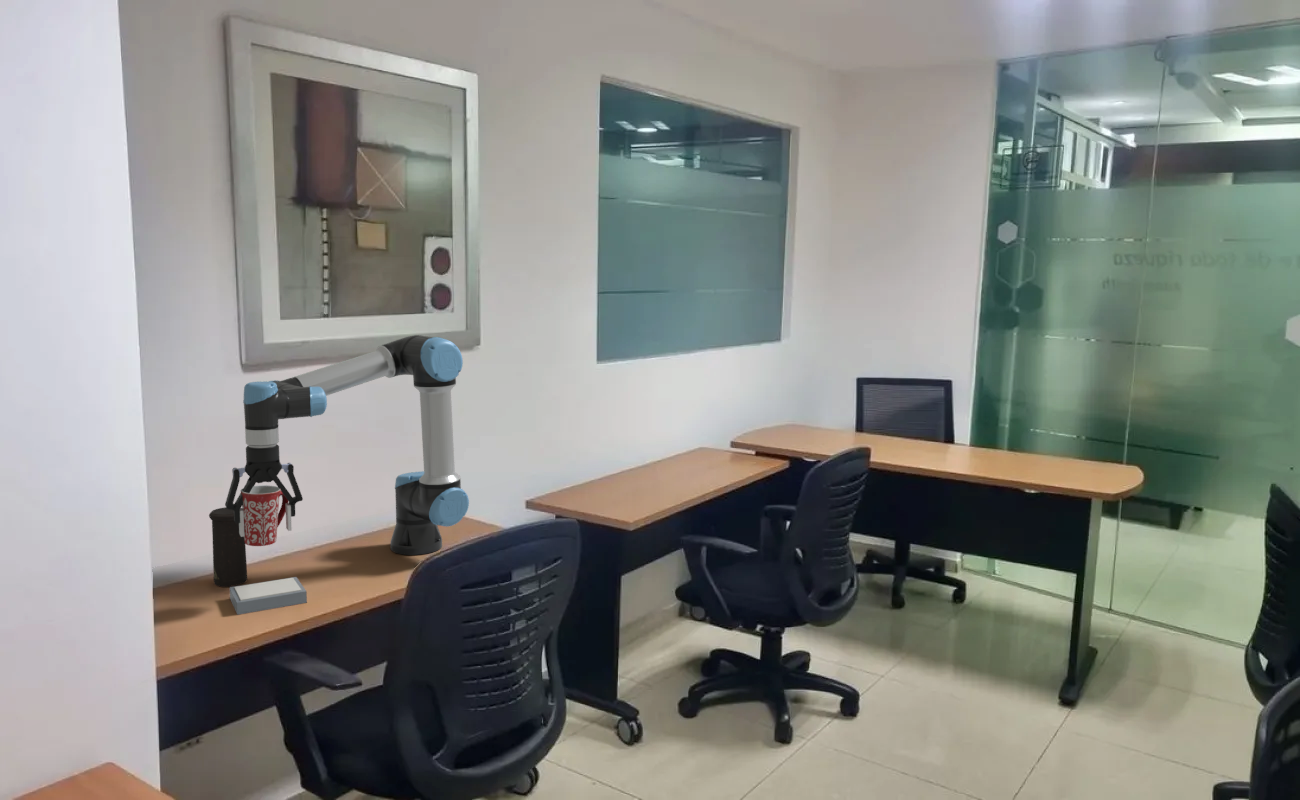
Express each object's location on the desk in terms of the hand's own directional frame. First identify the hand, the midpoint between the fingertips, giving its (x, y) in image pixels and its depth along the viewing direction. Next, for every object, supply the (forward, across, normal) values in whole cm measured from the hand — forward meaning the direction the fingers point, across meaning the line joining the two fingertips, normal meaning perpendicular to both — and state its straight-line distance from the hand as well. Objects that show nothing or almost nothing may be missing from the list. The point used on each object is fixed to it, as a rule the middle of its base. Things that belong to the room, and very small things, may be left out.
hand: (265, 532), depth 221 cm
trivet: (+18, 0, 0) cm, 18 cm away
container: (+18, +6, -19) cm, 27 cm away
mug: (+3, 0, 0) cm, 3 cm away
